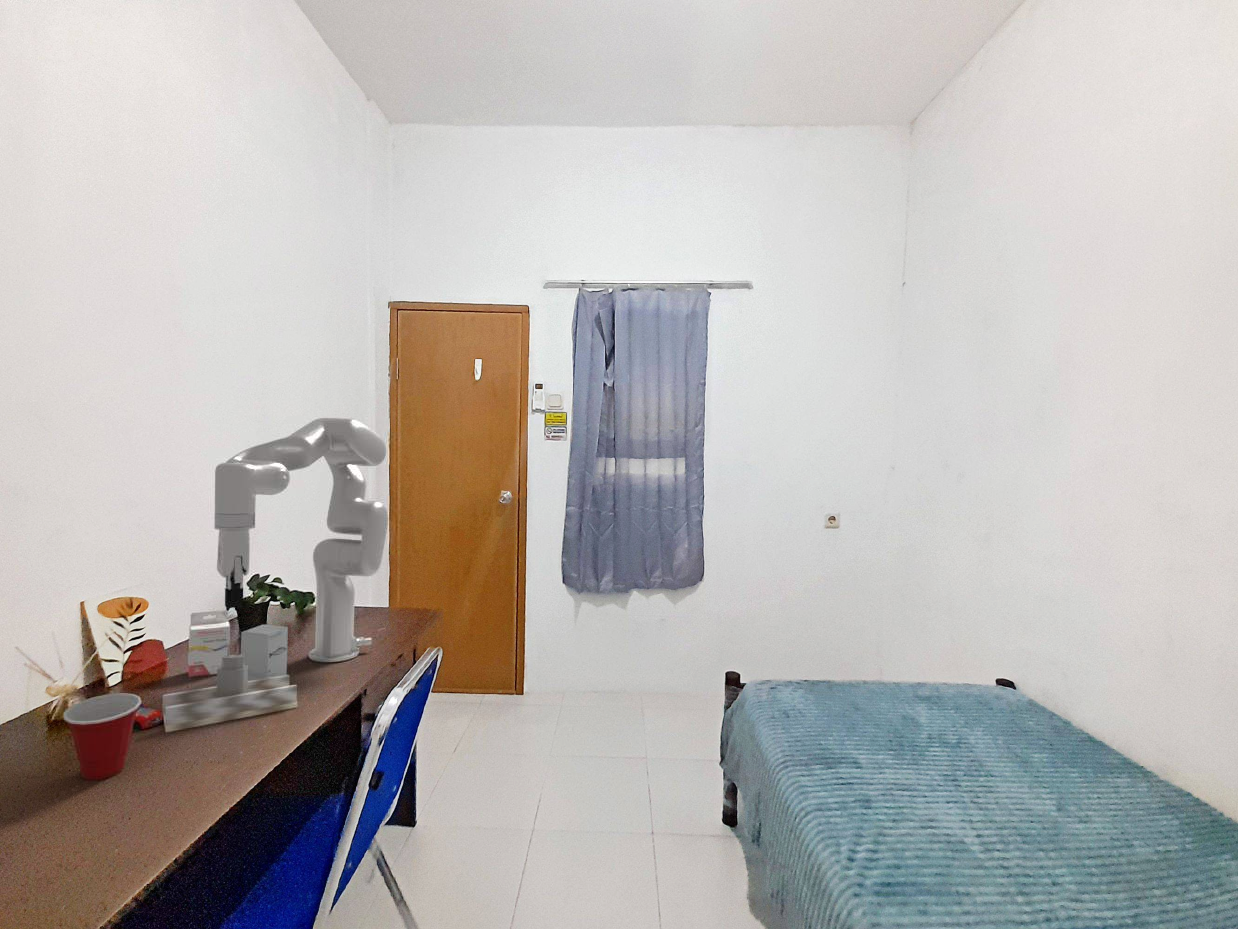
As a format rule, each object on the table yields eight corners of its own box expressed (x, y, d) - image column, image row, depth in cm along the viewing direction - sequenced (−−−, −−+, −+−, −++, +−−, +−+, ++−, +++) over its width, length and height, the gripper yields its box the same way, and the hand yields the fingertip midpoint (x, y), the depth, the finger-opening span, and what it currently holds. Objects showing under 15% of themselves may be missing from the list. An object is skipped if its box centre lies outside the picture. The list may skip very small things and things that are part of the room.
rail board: (287, 692, 157) (287, 673, 157) (297, 707, 149) (297, 687, 149) (162, 715, 142) (162, 693, 142) (165, 732, 134) (166, 709, 134)
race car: (169, 723, 140) (169, 703, 139) (144, 733, 134) (145, 713, 134) (118, 713, 143) (118, 695, 143) (92, 724, 138) (92, 704, 137)
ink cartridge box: (188, 678, 164) (189, 617, 163) (188, 671, 168) (189, 612, 167) (229, 672, 168) (230, 613, 168) (228, 666, 173) (229, 609, 172)
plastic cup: (45, 789, 112) (46, 717, 112) (89, 758, 123) (89, 693, 122) (116, 788, 113) (117, 717, 113) (153, 758, 124) (154, 693, 124)
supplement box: (266, 687, 160) (267, 634, 159) (238, 684, 161) (240, 631, 161) (287, 677, 167) (288, 626, 166) (261, 674, 168) (262, 623, 168)
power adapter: (221, 697, 147) (222, 642, 147) (248, 697, 148) (249, 643, 147) (215, 703, 144) (216, 647, 144) (242, 703, 145) (243, 647, 144)
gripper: (210, 517, 148) (209, 601, 149) (219, 526, 136) (218, 617, 137) (248, 516, 153) (247, 597, 153) (261, 524, 141) (260, 612, 141)
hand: (234, 606), depth 145 cm, fingers closed
